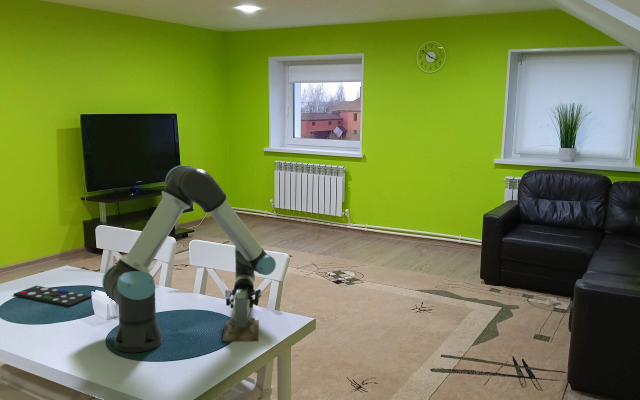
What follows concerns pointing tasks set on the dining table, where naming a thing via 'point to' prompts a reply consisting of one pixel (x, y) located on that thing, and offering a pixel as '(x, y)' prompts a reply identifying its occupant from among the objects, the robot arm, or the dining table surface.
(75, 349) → the dining table surface
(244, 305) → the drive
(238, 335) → the pin tray
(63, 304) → the remote control
